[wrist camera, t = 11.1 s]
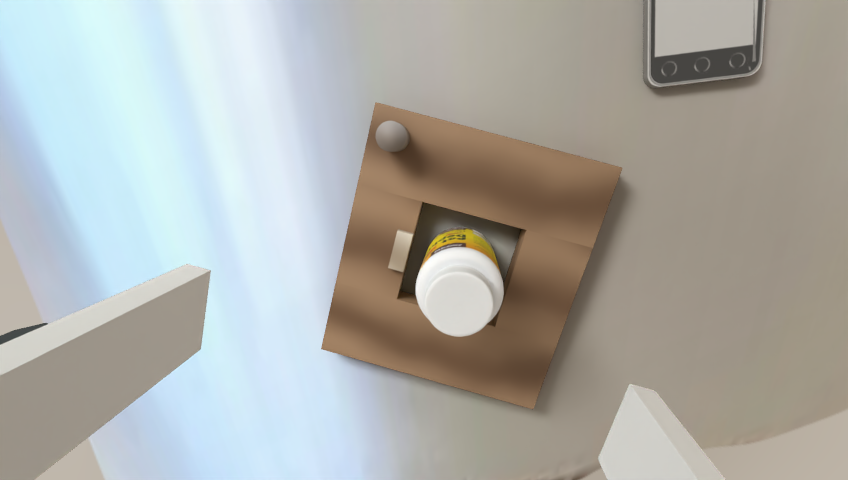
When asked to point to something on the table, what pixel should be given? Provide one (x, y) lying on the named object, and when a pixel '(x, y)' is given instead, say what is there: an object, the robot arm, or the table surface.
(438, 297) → the supplement bottle
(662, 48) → the smartphone
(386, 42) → the table surface
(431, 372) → the wooden slotted board
